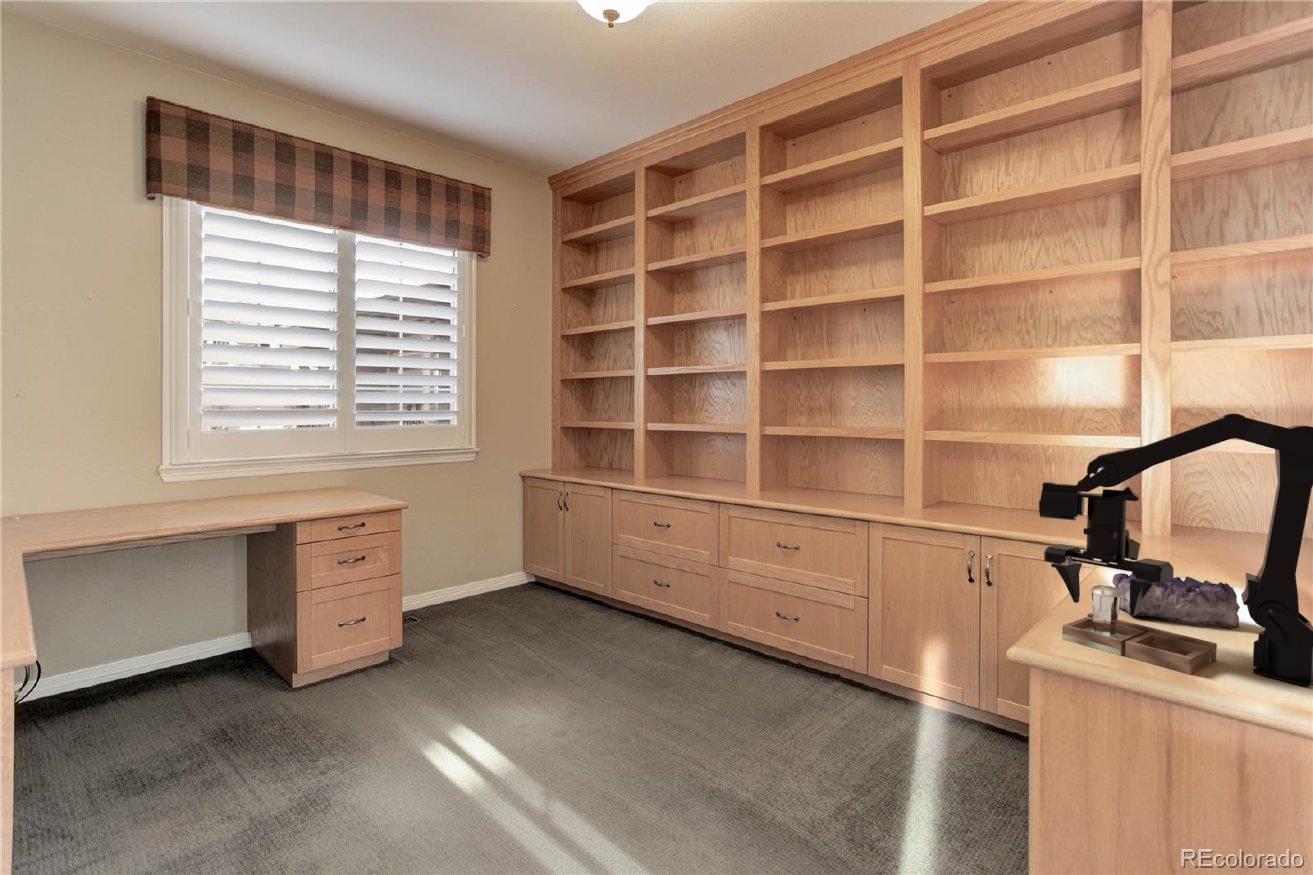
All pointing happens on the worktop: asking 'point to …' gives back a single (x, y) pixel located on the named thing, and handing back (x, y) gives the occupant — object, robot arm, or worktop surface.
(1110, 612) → the milkshake
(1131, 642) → the divided wooden tray
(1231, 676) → the worktop surface
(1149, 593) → the geode
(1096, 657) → the worktop surface
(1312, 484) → the robot arm
